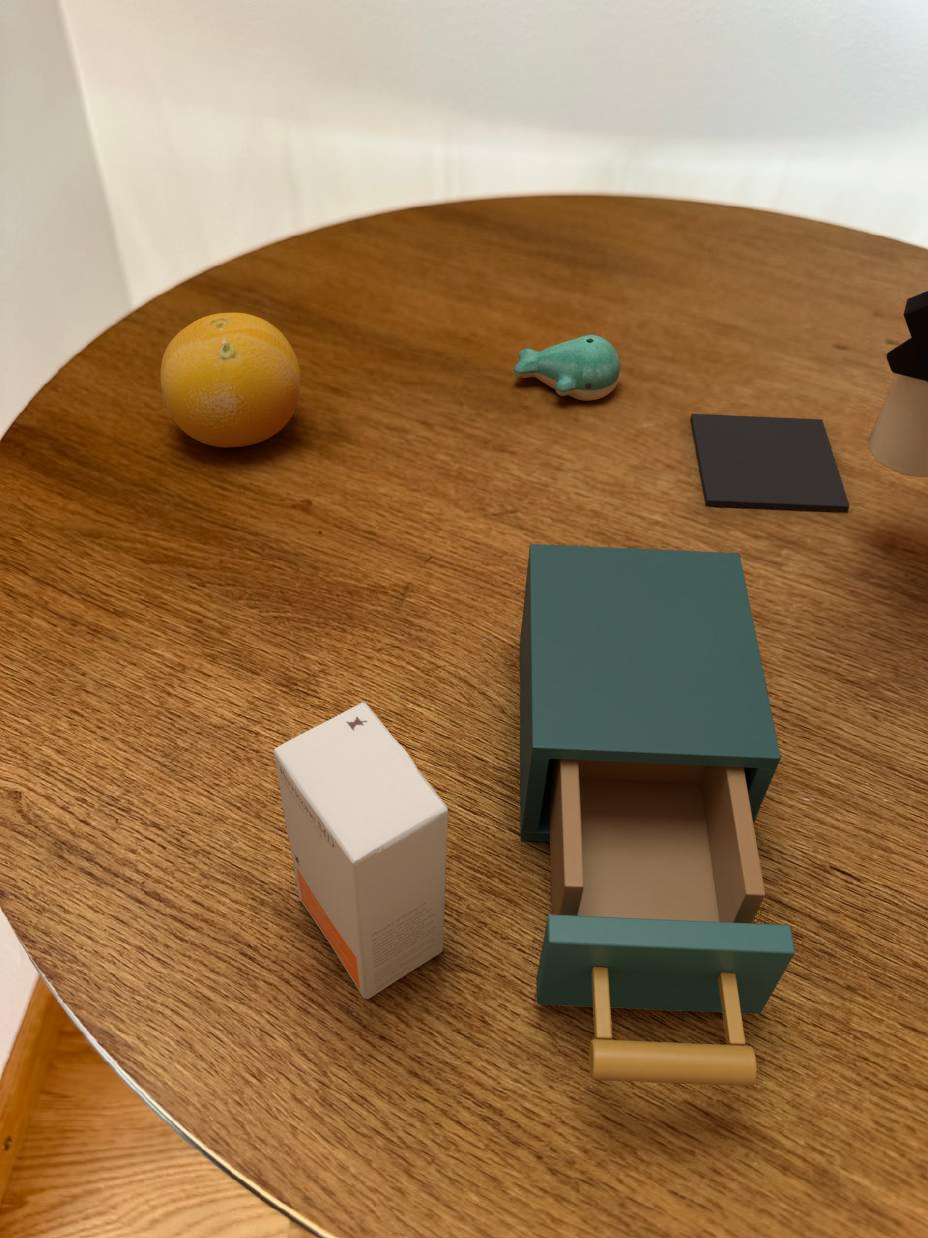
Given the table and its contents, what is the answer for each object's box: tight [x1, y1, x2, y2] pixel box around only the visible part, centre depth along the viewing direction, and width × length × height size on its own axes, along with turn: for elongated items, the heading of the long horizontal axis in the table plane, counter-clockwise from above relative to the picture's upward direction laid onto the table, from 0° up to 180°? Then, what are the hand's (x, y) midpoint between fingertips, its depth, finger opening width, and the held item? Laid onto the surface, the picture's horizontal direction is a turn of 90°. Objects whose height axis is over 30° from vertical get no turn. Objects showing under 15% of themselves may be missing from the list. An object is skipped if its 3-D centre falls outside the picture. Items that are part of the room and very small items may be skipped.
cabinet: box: [519, 543, 782, 843], centre depth 53 cm, size 13×11×8 cm
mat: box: [689, 413, 850, 513], centre depth 71 cm, size 9×9×1 cm
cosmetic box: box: [273, 701, 449, 1000], centre depth 44 cm, size 6×4×12 cm
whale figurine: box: [513, 334, 621, 402], centre depth 75 cm, size 6×7×4 cm
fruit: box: [160, 312, 301, 448], centre depth 69 cm, size 9×8×8 cm
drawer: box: [535, 759, 796, 1088], centre depth 45 cm, size 16×9×6 cm, turn 178°
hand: (919, 347), depth 58 cm, fingers closed on spice jar, 4 cm apart
